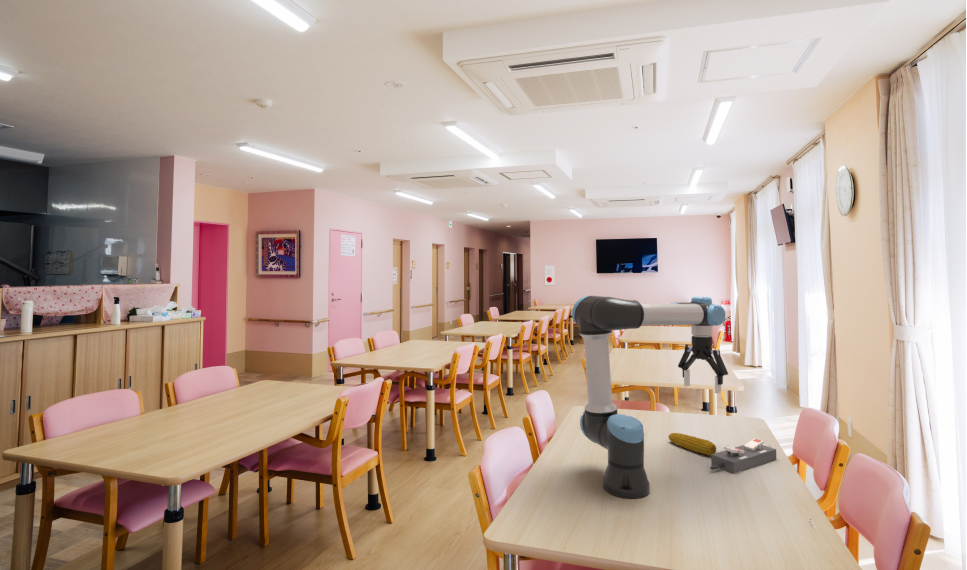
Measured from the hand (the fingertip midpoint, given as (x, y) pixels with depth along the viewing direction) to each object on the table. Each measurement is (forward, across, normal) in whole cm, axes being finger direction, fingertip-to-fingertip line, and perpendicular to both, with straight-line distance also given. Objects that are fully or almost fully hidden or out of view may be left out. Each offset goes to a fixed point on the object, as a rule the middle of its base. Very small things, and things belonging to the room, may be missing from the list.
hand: (702, 389), depth 187 cm
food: (+27, +6, -2) cm, 28 cm away
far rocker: (+20, -13, -13) cm, 28 cm away
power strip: (+26, -13, -4) cm, 29 cm away
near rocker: (+21, -12, -1) cm, 24 cm away
